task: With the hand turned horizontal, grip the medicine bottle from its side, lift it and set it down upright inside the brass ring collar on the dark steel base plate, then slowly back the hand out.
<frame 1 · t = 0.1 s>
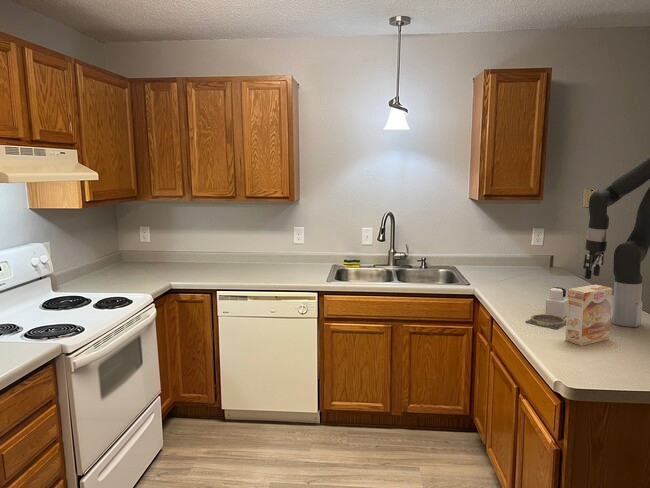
hand: (592, 277, 196), 17 cm above the countertop, tool pointing down, fingers open, 8 cm apart
coffeecake box: (587, 340, 172), on the countertop
ring seat: (547, 322, 193), on the countertop
medicine bottle: (556, 315, 203), on the countertop
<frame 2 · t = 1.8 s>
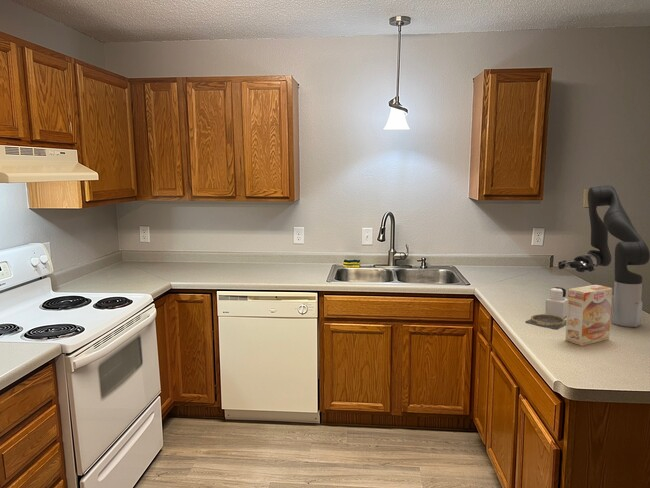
hand: (569, 268, 207), 19 cm above the countertop, tool horizontal, fingers open, 8 cm apart
nothing on the countertop moved.
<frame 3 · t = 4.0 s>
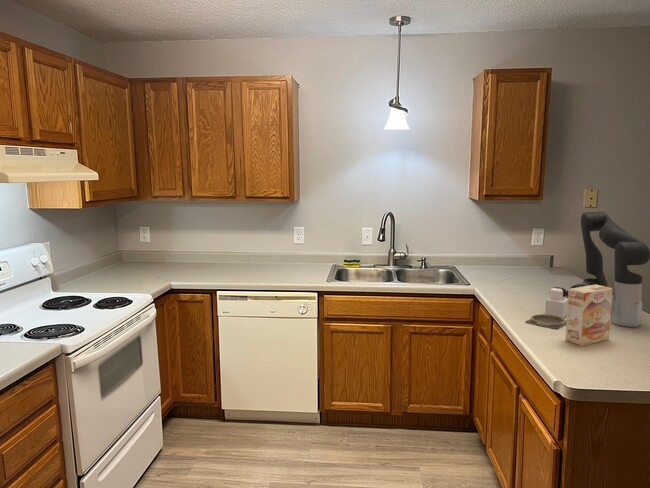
hand: (565, 298, 207), 6 cm above the countertop, tool horizontal, fingers open, 8 cm apart
nothing on the countertop moved.
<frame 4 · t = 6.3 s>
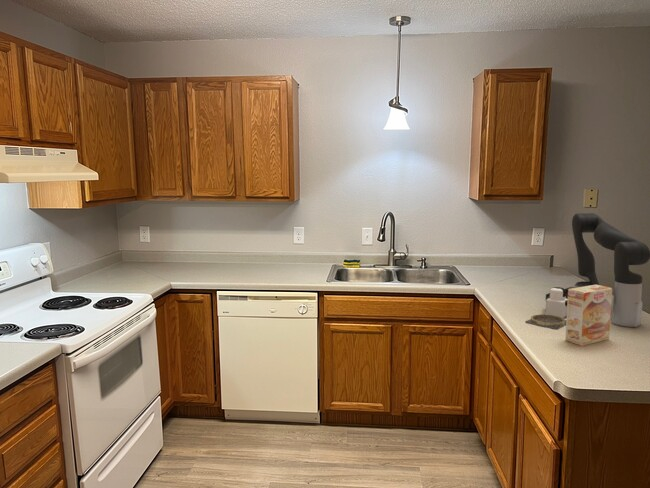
hand: (556, 301, 201), 6 cm above the countertop, tool horizontal, fingers closed on medicine bottle, 7 cm apart
medicine bottle: (556, 315, 203), on the countertop, touching gripper
everything else where it was.
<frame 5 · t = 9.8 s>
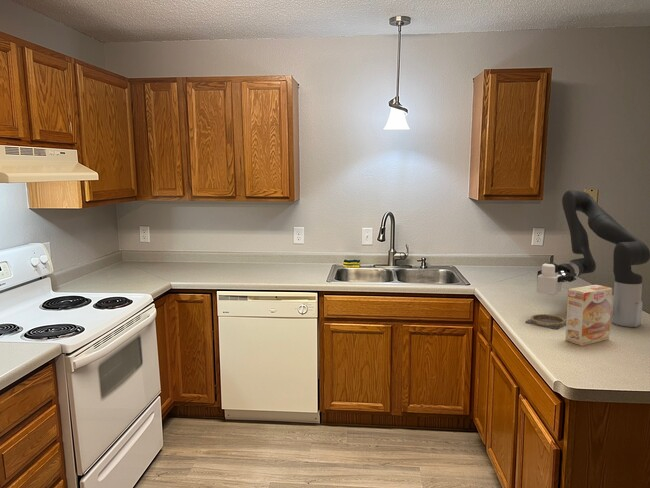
hand: (548, 278, 190), 19 cm above the countertop, tool horizontal, fingers closed on medicine bottle, 7 cm apart
medicine bottle: (548, 292, 192), point 12 cm above the countertop, touching gripper
everything else where it was.
when the fingers open (7 cm above the countertop, at t = 13.7 s): medicine bottle stays where it is, resting on ring seat.
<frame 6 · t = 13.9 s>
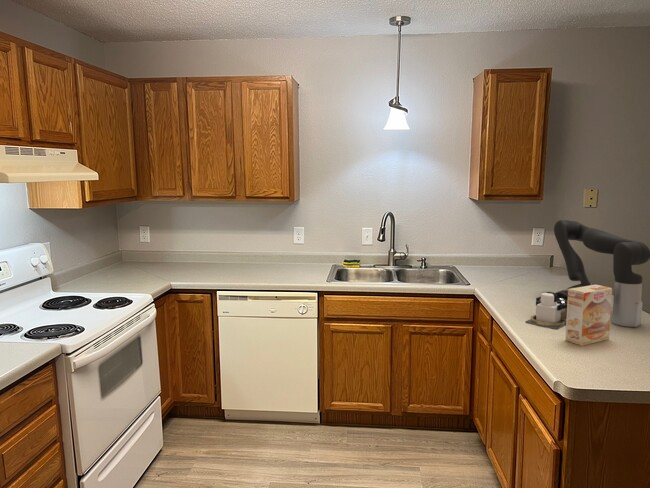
hand: (547, 306, 191), 7 cm above the countertop, tool horizontal, fingers open, 8 cm apart
medicine bottle: (548, 321, 193), resting on ring seat
everything else where it was.
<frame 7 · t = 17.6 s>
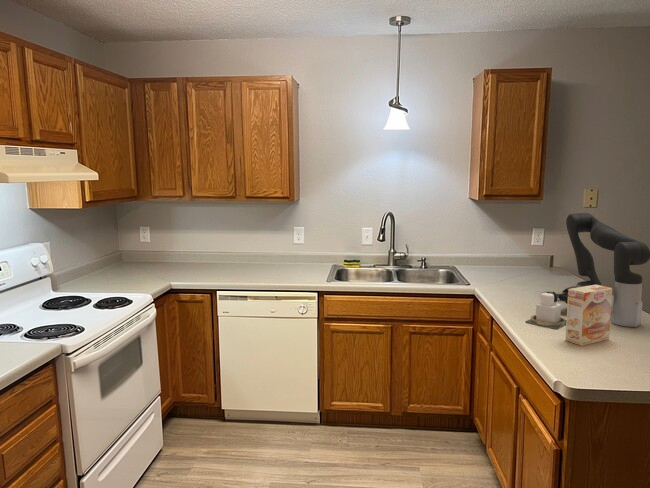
hand: (558, 301, 197), 7 cm above the countertop, tool horizontal, fingers open, 8 cm apart
nothing on the countertop moved.
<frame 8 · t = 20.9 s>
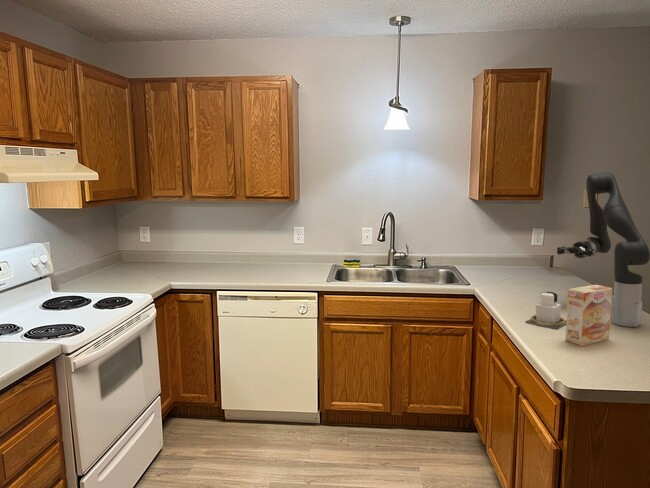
hand: (568, 253, 205), 26 cm above the countertop, tool horizontal, fingers open, 8 cm apart
nothing on the countertop moved.
at the end: medicine bottle 0.2 cm off-centre on the ring seat, point 0.4 cm above the ring seat's base; medicine bottle tilted 0°; the gripper is holding nothing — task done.
